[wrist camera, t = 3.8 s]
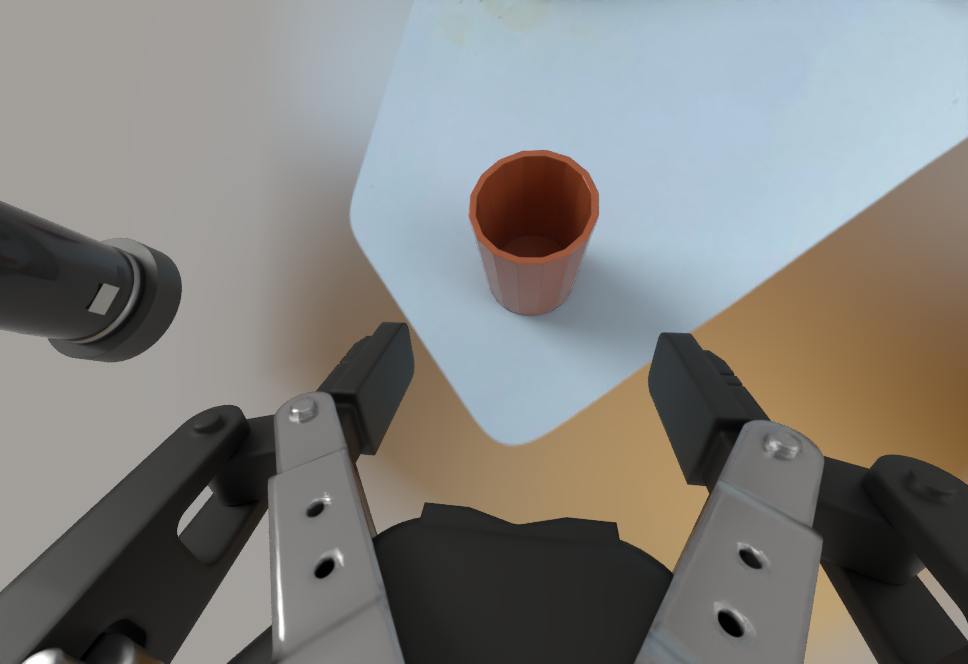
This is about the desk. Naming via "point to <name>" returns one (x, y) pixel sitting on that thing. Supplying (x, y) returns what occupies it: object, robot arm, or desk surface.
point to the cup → (533, 228)
